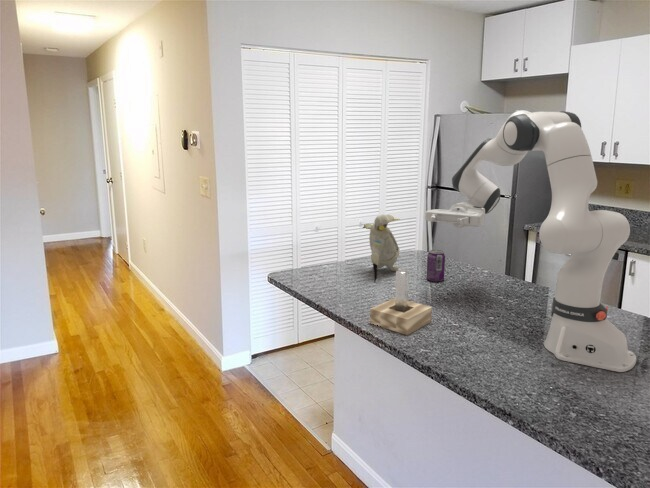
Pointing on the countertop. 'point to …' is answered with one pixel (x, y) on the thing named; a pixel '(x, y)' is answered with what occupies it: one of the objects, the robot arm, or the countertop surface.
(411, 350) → the countertop surface
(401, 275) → the pin
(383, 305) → the socket block
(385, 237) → the figurine
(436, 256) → the beverage can
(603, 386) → the countertop surface
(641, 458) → the countertop surface
